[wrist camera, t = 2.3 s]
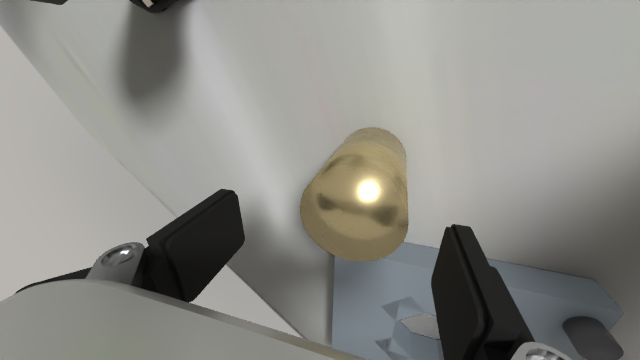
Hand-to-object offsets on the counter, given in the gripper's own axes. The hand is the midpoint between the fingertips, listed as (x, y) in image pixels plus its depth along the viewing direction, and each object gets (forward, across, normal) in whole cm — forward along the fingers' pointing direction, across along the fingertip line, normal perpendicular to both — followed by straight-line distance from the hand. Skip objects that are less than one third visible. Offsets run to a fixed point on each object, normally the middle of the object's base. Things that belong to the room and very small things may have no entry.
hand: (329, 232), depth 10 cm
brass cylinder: (+9, -1, 0) cm, 9 cm away
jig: (+9, -8, +14) cm, 19 cm away
